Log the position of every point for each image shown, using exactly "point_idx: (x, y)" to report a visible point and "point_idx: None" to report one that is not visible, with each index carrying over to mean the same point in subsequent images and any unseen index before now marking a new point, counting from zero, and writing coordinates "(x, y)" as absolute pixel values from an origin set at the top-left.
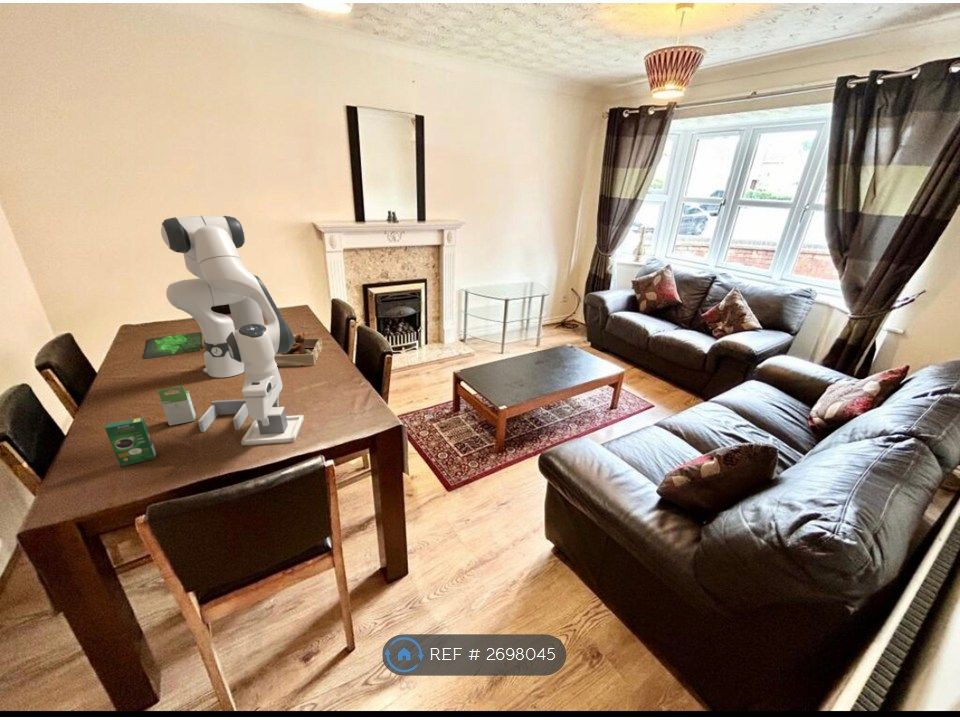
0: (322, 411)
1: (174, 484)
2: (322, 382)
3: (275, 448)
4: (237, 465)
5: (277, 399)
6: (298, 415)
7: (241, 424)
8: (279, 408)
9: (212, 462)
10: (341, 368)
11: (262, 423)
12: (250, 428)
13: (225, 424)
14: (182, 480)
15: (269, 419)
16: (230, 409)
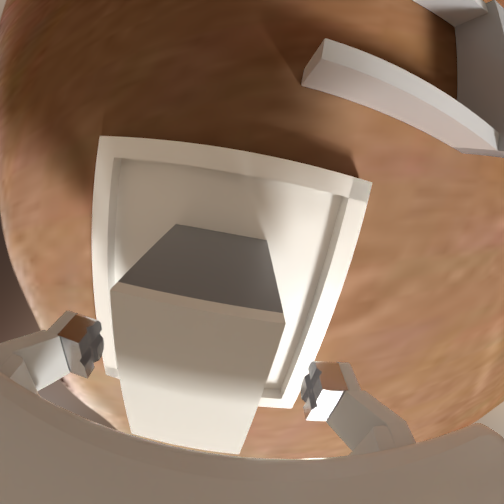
0: (316, 430)
1: (9, 21)
2: (484, 383)
3: (74, 297)
4: (7, 167)
5: (346, 440)
6: (297, 394)
7: (348, 98)
8: (217, 439)
9: (45, 61)
10: (499, 399)
11: (59, 320)
12: (238, 160)
13: (375, 30)
14: (12, 29)
15: (89, 370)
16: (474, 66)
